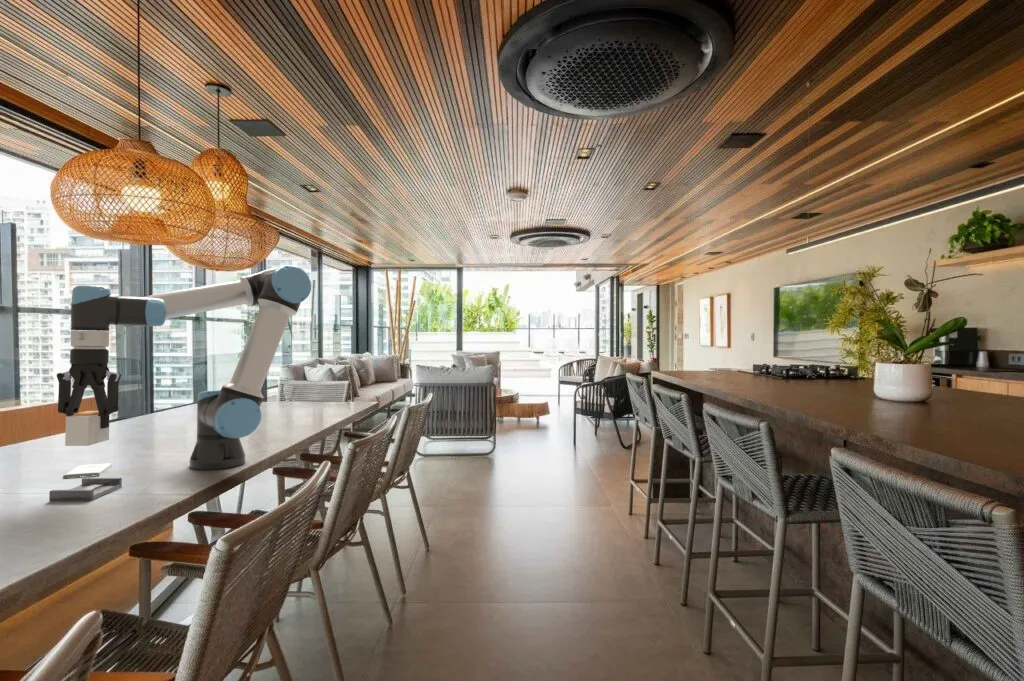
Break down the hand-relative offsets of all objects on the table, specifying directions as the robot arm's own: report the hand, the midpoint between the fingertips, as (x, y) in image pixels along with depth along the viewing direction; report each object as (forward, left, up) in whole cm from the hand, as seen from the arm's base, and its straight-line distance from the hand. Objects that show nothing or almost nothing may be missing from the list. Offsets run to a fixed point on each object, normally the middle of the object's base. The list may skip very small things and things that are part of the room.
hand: (87, 441), depth 132 cm
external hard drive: (+14, -23, -14) cm, 30 cm away
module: (0, 0, 0) cm, 0 cm away
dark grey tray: (0, 0, -13) cm, 13 cm away
